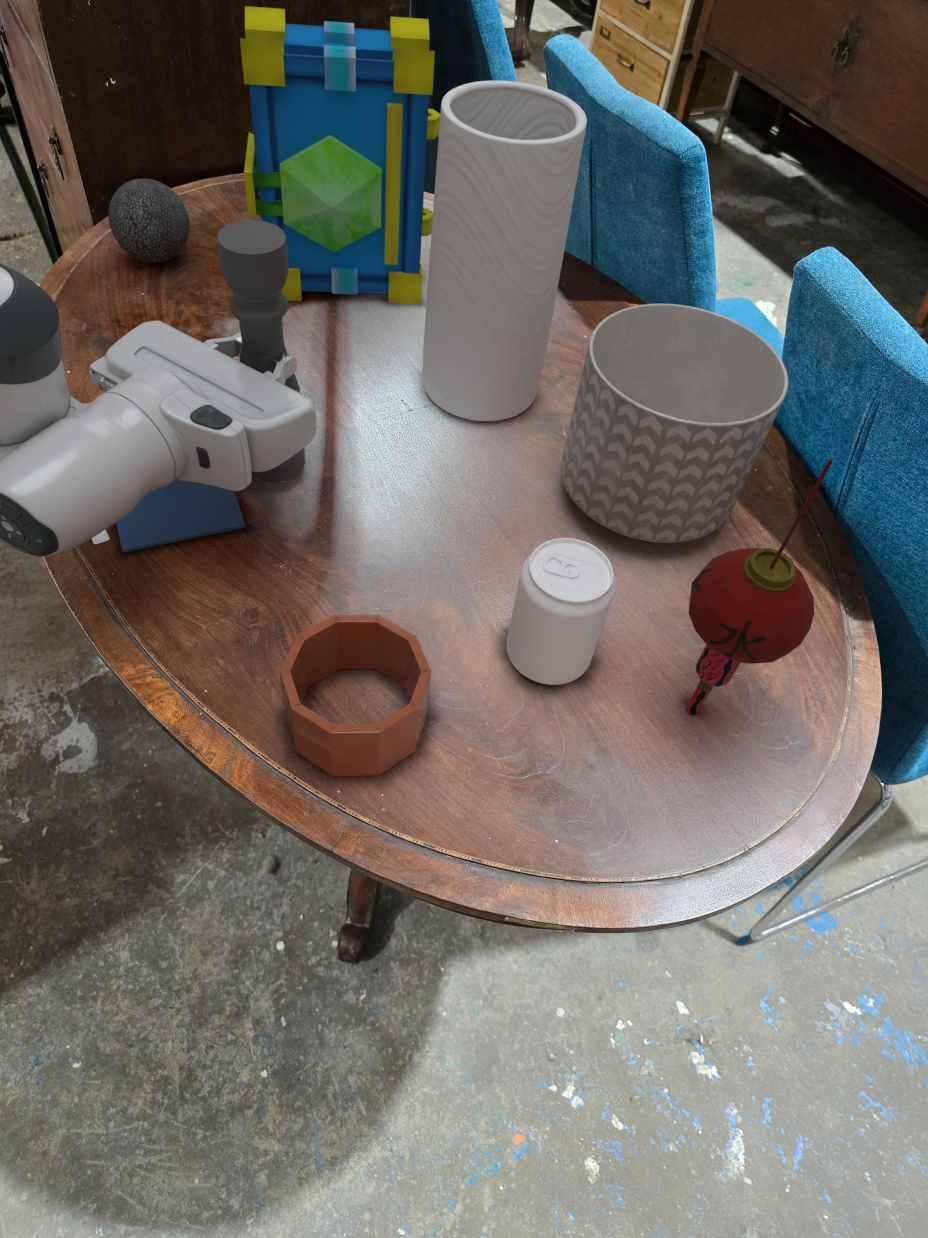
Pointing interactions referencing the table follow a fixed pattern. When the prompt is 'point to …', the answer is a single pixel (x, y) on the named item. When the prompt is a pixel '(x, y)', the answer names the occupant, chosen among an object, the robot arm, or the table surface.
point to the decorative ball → (149, 220)
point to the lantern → (748, 610)
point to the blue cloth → (179, 515)
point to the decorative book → (341, 149)
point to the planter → (669, 420)
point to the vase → (497, 243)
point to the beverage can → (559, 610)
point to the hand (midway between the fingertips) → (270, 350)
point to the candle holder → (259, 306)
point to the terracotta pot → (355, 648)
